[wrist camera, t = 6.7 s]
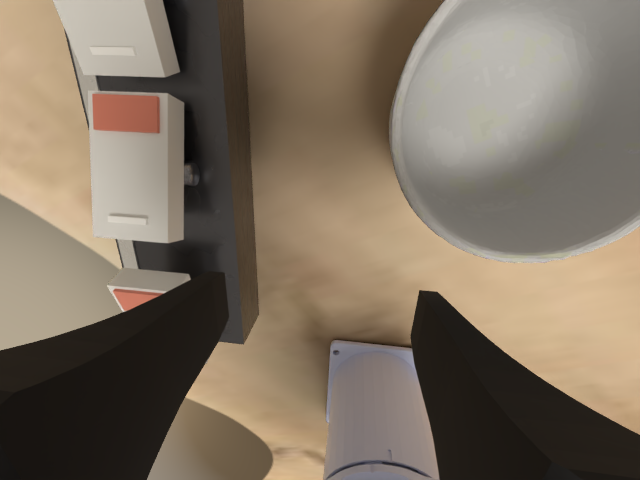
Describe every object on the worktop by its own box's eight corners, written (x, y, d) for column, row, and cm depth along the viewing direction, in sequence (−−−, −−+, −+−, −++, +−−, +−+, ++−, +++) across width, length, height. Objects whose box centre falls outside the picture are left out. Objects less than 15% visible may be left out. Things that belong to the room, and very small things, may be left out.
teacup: (375, 206, 20) (383, 260, 13) (385, 8, 16) (406, -76, 9) (606, 209, 19) (764, 273, 11) (683, -10, 15) (1013, -133, 7)
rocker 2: (183, 239, 16) (165, 243, 15) (114, 233, 17) (89, 237, 15) (184, 102, 15) (164, 91, 14) (110, 99, 16) (84, 88, 14)
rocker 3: (214, 345, 22) (205, 366, 20) (161, 339, 22) (148, 359, 21) (188, 273, 17) (174, 295, 16) (122, 267, 18) (104, 288, 16)
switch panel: (258, 314, 25) (237, 356, 21) (165, 304, 26) (126, 343, 21) (238, -77, 16) (192, -149, 11) (93, -74, 16) (-3, -140, 12)
